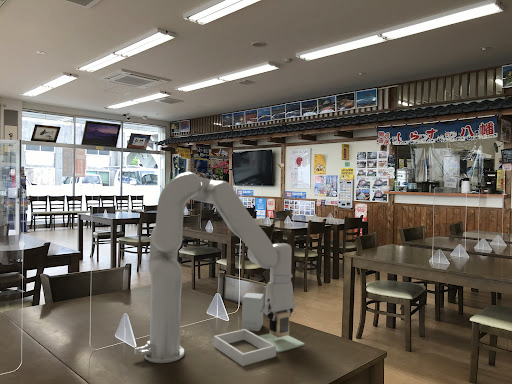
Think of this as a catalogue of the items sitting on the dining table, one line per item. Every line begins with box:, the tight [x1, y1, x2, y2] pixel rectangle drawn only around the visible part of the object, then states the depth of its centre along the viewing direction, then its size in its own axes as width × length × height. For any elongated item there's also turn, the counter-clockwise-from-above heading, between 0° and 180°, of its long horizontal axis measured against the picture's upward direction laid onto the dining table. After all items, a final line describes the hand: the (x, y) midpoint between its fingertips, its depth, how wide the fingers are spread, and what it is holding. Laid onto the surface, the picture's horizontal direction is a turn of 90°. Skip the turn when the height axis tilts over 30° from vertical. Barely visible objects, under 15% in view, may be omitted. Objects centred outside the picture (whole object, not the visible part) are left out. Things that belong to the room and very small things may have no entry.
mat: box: [258, 333, 305, 353], centre depth 142 cm, size 12×14×1 cm
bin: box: [213, 329, 277, 367], centre depth 133 cm, size 13×18×4 cm
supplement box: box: [241, 292, 265, 332], centre depth 156 cm, size 7×7×13 cm
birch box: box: [268, 310, 291, 338], centre depth 142 cm, size 5×5×8 cm
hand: (279, 328), depth 142 cm, fingers closed on birch box, 5 cm apart
